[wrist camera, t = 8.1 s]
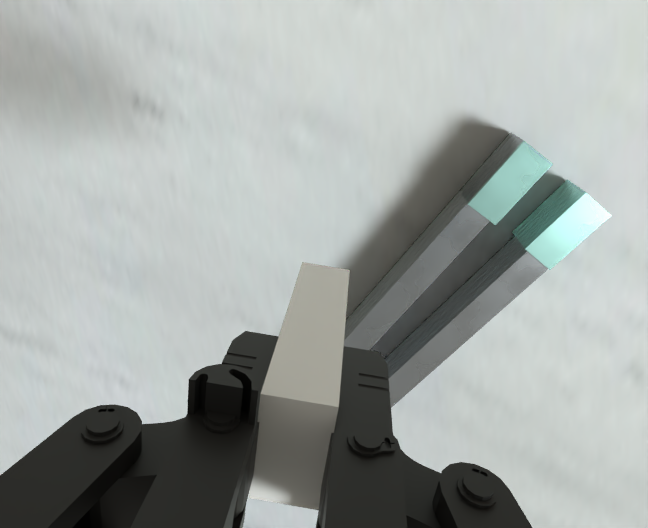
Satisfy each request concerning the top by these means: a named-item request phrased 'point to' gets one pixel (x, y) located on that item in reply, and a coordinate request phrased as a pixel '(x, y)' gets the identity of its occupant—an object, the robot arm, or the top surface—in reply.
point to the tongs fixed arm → (496, 284)
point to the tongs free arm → (447, 238)
